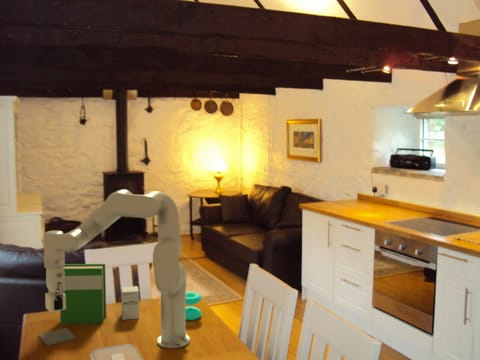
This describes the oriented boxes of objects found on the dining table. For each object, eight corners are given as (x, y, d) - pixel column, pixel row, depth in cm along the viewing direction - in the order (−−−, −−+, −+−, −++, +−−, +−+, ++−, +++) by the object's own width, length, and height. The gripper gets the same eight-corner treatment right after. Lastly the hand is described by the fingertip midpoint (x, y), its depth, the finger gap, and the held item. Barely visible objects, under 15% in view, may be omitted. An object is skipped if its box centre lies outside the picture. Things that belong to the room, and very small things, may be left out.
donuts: (204, 297, 219) (182, 300, 215) (204, 319, 220) (182, 322, 216) (197, 290, 228) (175, 292, 224) (197, 311, 229) (176, 314, 225)
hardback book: (106, 316, 222) (105, 263, 219) (102, 323, 214) (101, 268, 212) (65, 317, 220) (63, 264, 218) (60, 324, 213) (58, 269, 210)
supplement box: (122, 320, 218) (121, 292, 216) (121, 314, 225) (121, 286, 223) (139, 318, 219) (139, 290, 218) (138, 312, 227) (137, 285, 225)
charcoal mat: (75, 338, 199) (75, 336, 198) (47, 346, 192) (47, 344, 192) (66, 329, 207) (66, 327, 207) (38, 336, 200) (38, 334, 200)
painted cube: (65, 309, 198) (65, 294, 197) (50, 312, 194) (50, 297, 193) (60, 304, 202) (60, 290, 202) (45, 307, 199) (45, 293, 198)
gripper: (71, 266, 192) (72, 311, 194) (57, 256, 205) (58, 298, 207) (51, 269, 187) (53, 315, 189) (38, 259, 201) (39, 302, 203)
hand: (55, 306), depth 198 cm, fingers closed on painted cube, 6 cm apart
